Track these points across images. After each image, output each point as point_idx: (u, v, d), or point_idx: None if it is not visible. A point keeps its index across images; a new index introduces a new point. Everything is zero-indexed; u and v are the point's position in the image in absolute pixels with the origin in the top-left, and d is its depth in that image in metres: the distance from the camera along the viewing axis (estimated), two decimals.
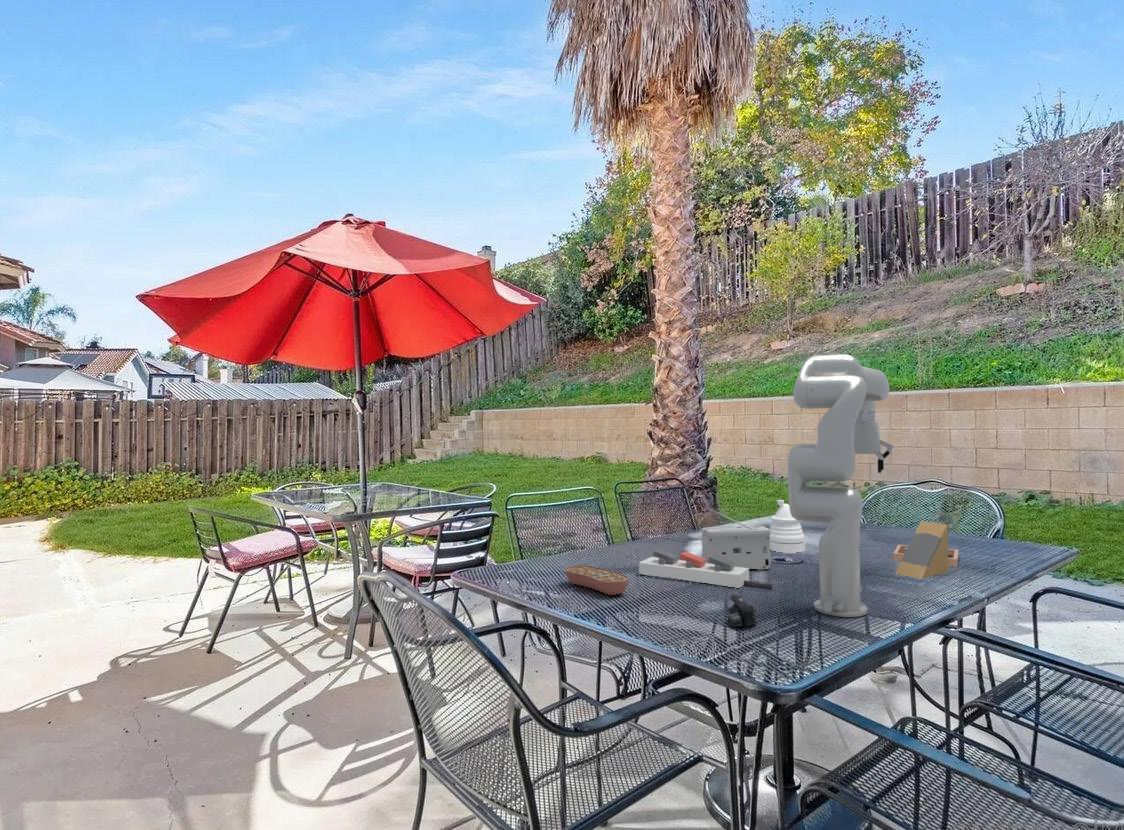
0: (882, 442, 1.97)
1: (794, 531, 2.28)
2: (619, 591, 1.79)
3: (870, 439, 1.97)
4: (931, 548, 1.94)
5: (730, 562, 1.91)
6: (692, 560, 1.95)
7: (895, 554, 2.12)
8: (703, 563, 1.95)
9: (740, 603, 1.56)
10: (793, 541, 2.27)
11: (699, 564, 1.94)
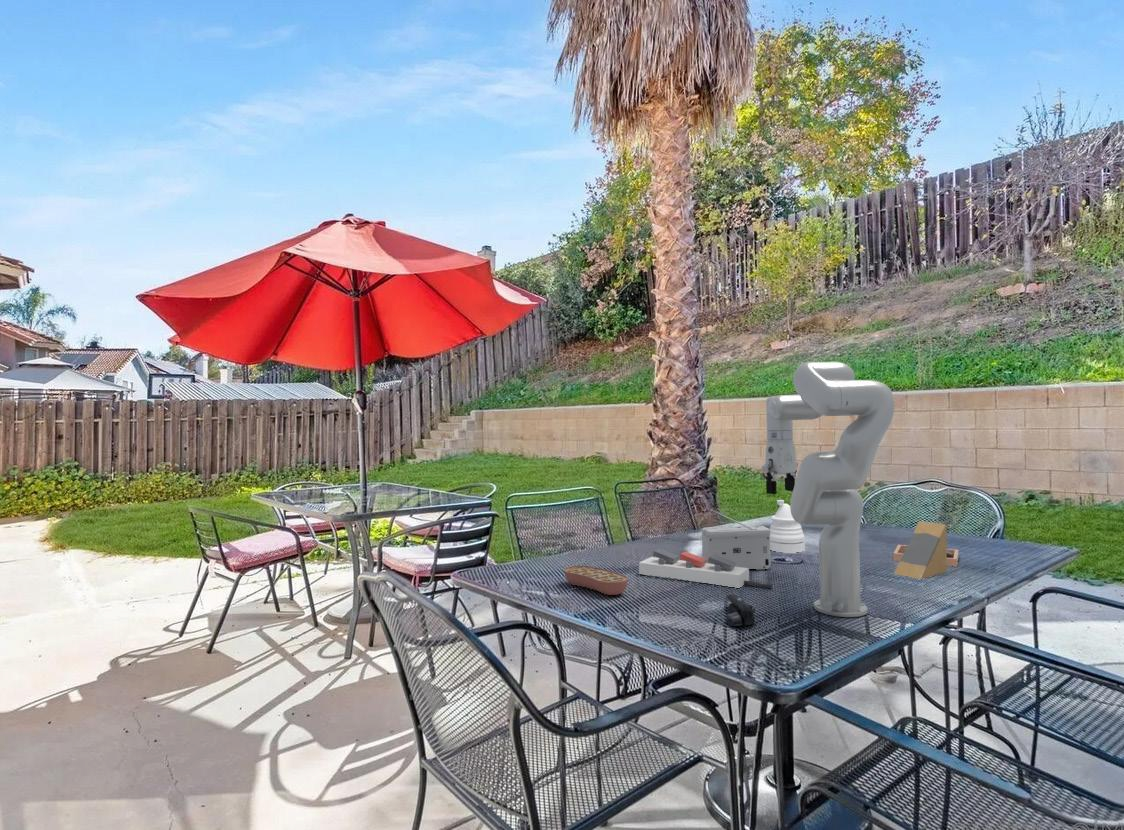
0: None
1: (794, 531, 2.28)
2: (619, 591, 1.79)
3: (793, 458, 1.95)
4: (930, 548, 1.94)
5: (730, 562, 1.91)
6: (692, 560, 1.95)
7: (895, 554, 2.12)
8: (703, 563, 1.95)
9: (739, 603, 1.56)
10: (793, 541, 2.27)
11: (699, 564, 1.94)
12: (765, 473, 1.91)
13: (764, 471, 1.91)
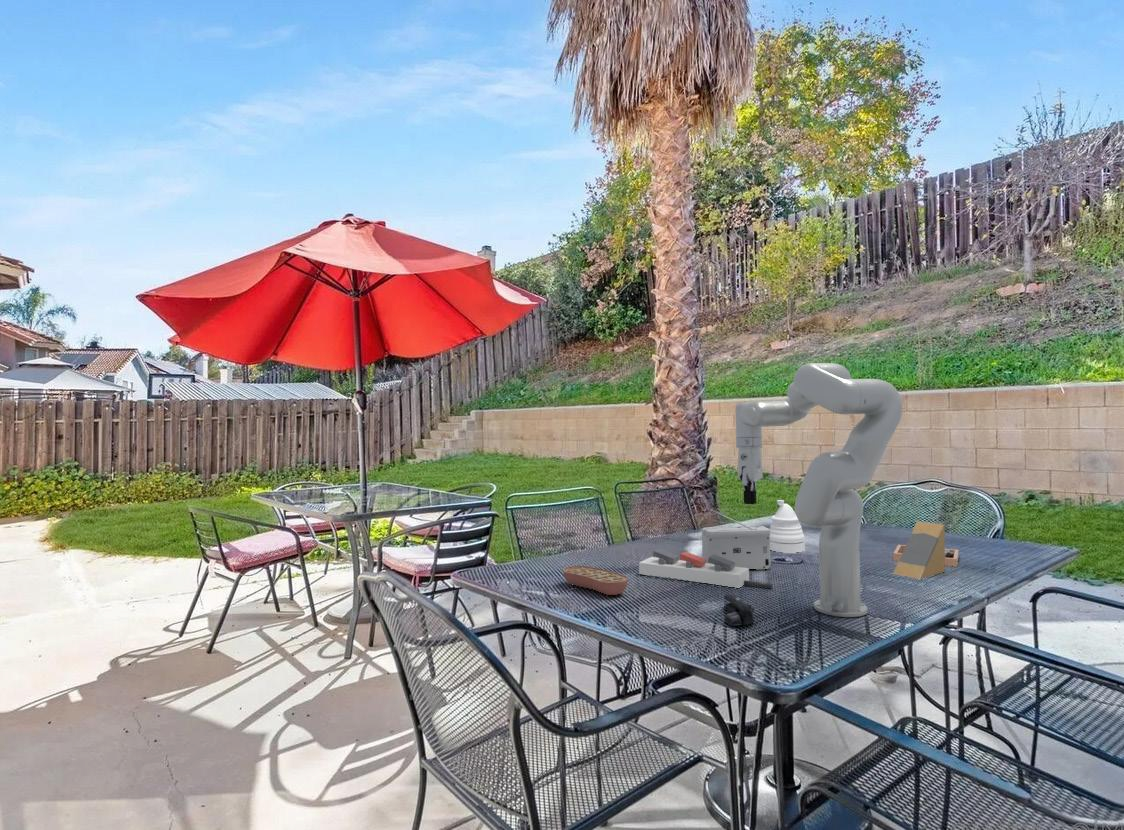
0: None
1: (794, 531, 2.28)
2: (619, 591, 1.79)
3: (760, 464, 1.94)
4: (929, 548, 1.94)
5: (730, 562, 1.91)
6: (692, 560, 1.95)
7: (895, 554, 2.12)
8: (703, 563, 1.95)
9: (738, 602, 1.56)
10: (793, 541, 2.27)
11: (699, 564, 1.94)
12: (746, 486, 1.91)
13: (745, 485, 1.90)
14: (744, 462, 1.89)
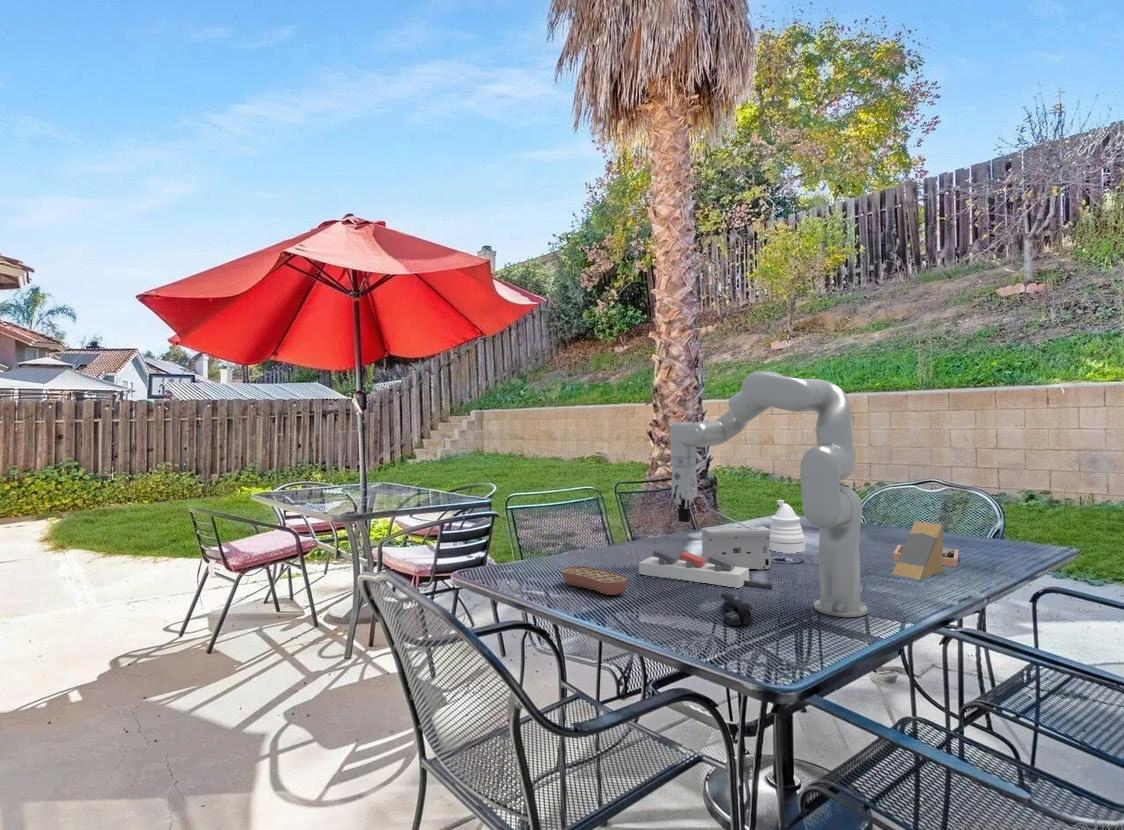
0: None
1: (794, 531, 2.28)
2: (619, 591, 1.79)
3: (695, 483, 1.99)
4: (927, 548, 1.94)
5: (730, 562, 1.91)
6: (692, 560, 1.95)
7: (895, 554, 2.12)
8: (703, 563, 1.95)
9: (736, 601, 1.57)
10: (793, 541, 2.27)
11: (699, 564, 1.94)
12: (679, 504, 1.95)
13: (678, 504, 1.95)
14: (677, 481, 1.94)
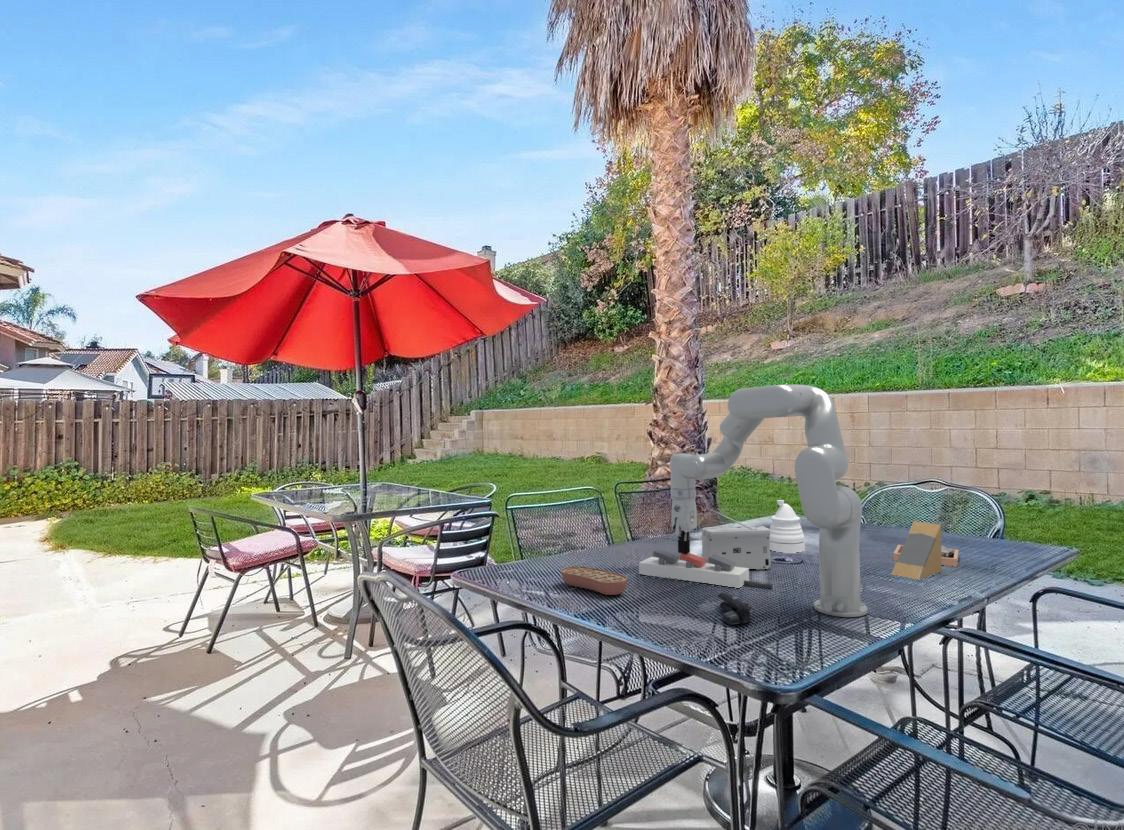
0: None
1: (794, 531, 2.28)
2: (619, 591, 1.79)
3: (695, 514, 1.99)
4: (926, 548, 1.94)
5: (730, 562, 1.91)
6: (692, 560, 1.95)
7: (895, 554, 2.12)
8: (703, 563, 1.95)
9: (735, 601, 1.57)
10: (793, 541, 2.27)
11: (699, 564, 1.94)
12: (679, 536, 1.95)
13: (678, 536, 1.95)
14: (677, 513, 1.94)
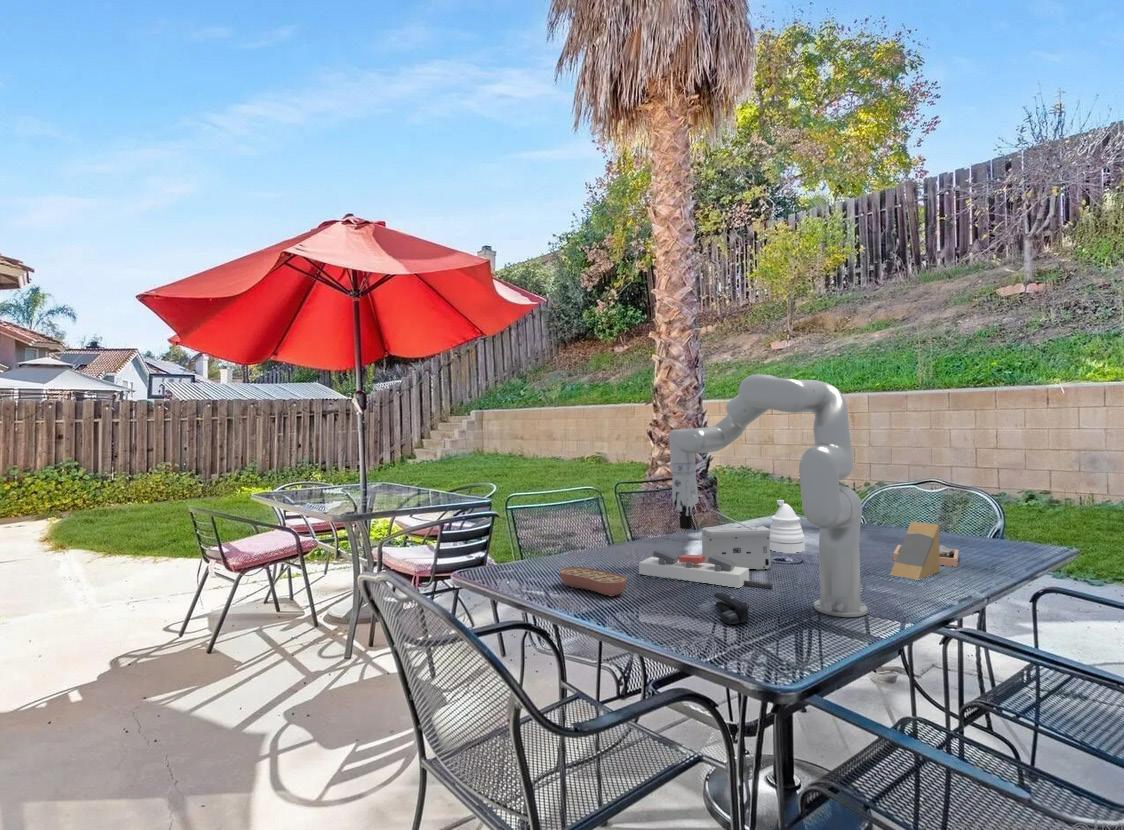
0: None
1: (794, 531, 2.28)
2: (618, 592, 1.78)
3: (695, 490, 1.98)
4: (925, 548, 1.94)
5: (730, 562, 1.91)
6: (691, 559, 1.95)
7: (895, 554, 2.12)
8: (702, 559, 1.95)
9: (733, 600, 1.58)
10: (793, 541, 2.27)
11: (699, 561, 1.94)
12: (681, 511, 1.95)
13: (679, 511, 1.94)
14: (678, 488, 1.94)
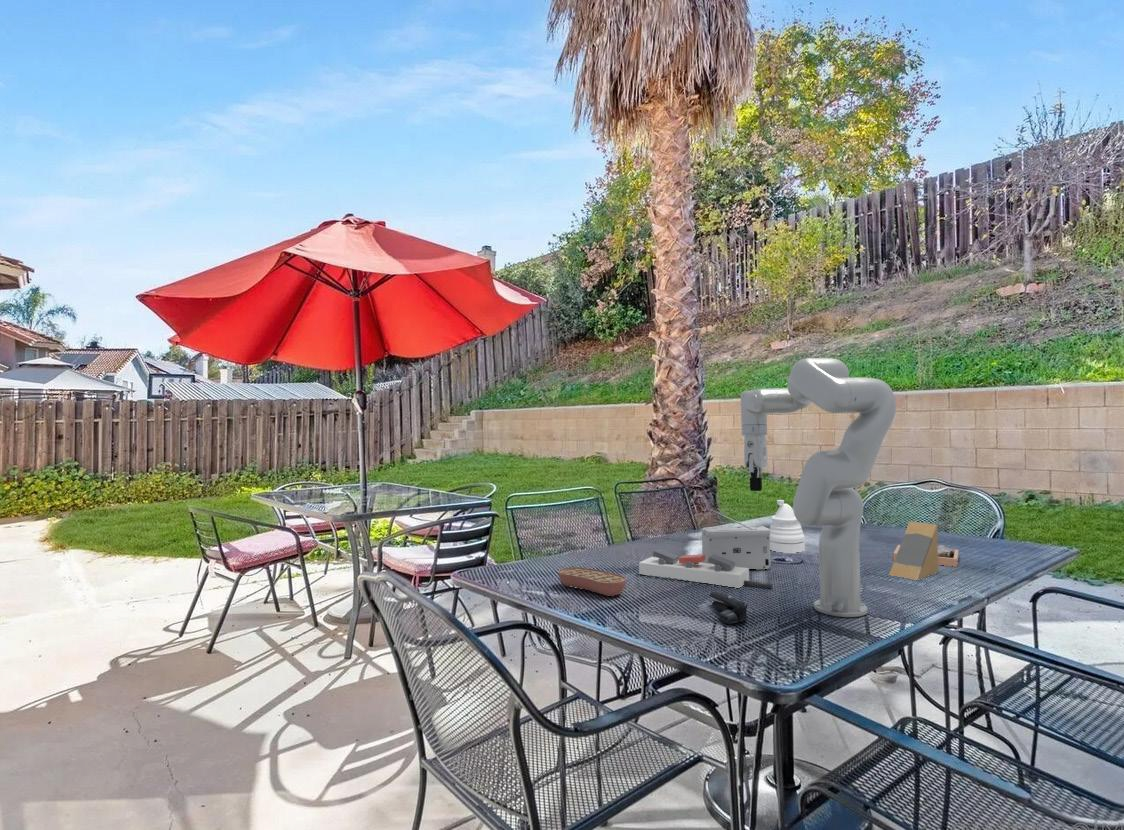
0: None
1: (794, 531, 2.28)
2: (618, 592, 1.78)
3: (766, 452, 1.97)
4: (923, 548, 1.94)
5: (730, 562, 1.91)
6: (691, 559, 1.95)
7: (895, 554, 2.12)
8: (702, 558, 1.95)
9: (731, 600, 1.58)
10: (793, 541, 2.27)
11: (698, 560, 1.94)
12: (752, 473, 1.93)
13: (751, 472, 1.92)
14: (750, 449, 1.92)
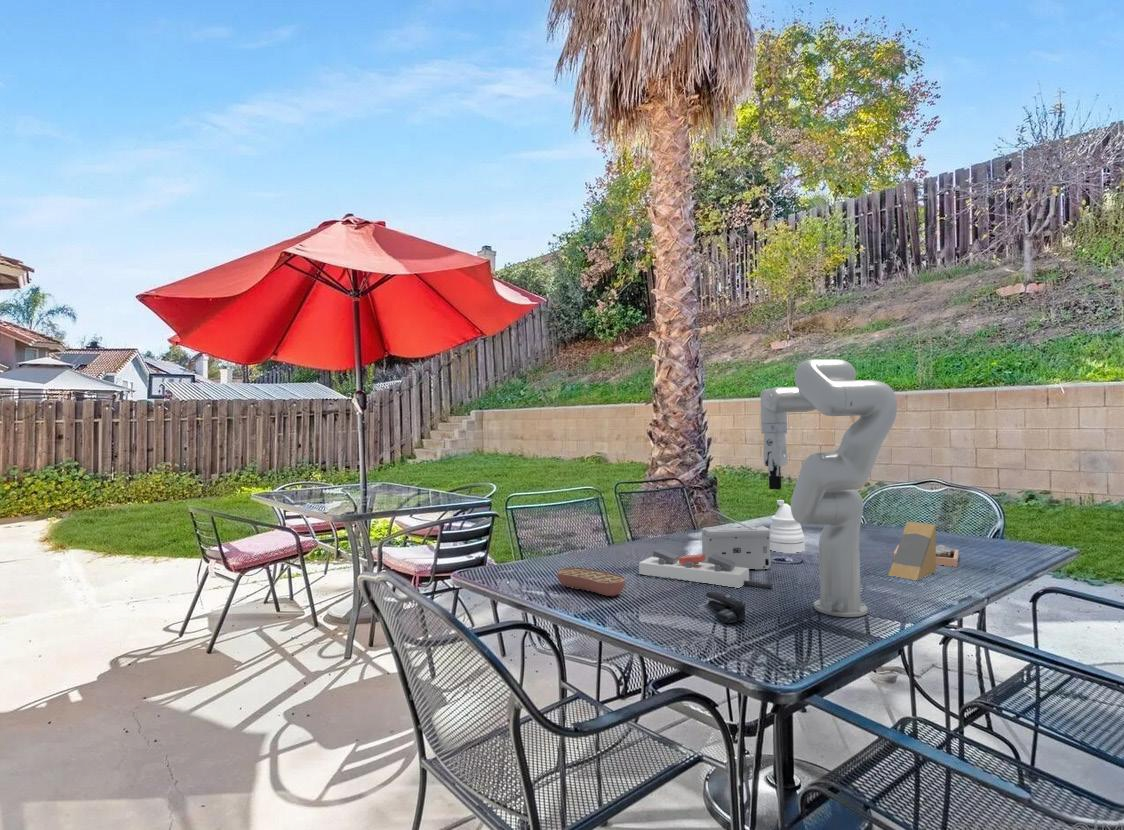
0: None
1: (794, 531, 2.28)
2: (618, 592, 1.78)
3: (786, 450, 1.96)
4: (922, 548, 1.94)
5: (730, 562, 1.91)
6: (691, 559, 1.95)
7: (895, 554, 2.12)
8: (702, 558, 1.95)
9: (729, 599, 1.59)
10: (793, 541, 2.27)
11: (698, 560, 1.94)
12: (772, 471, 1.93)
13: (771, 471, 1.92)
14: (770, 447, 1.91)
